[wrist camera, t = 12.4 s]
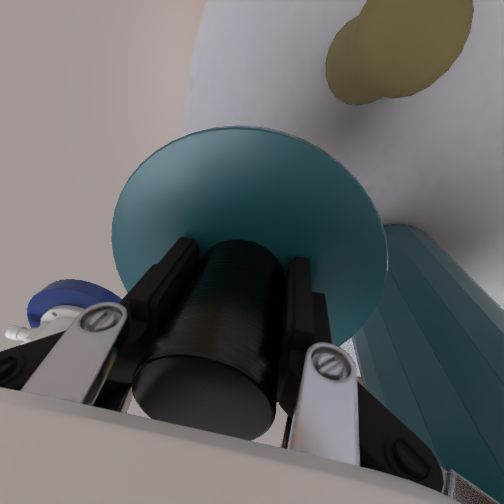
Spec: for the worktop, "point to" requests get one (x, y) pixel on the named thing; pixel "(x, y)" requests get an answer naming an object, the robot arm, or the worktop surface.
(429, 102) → the worktop surface
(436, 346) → the teal faceted tube
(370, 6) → the cork
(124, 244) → the lid
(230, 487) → the robot arm
